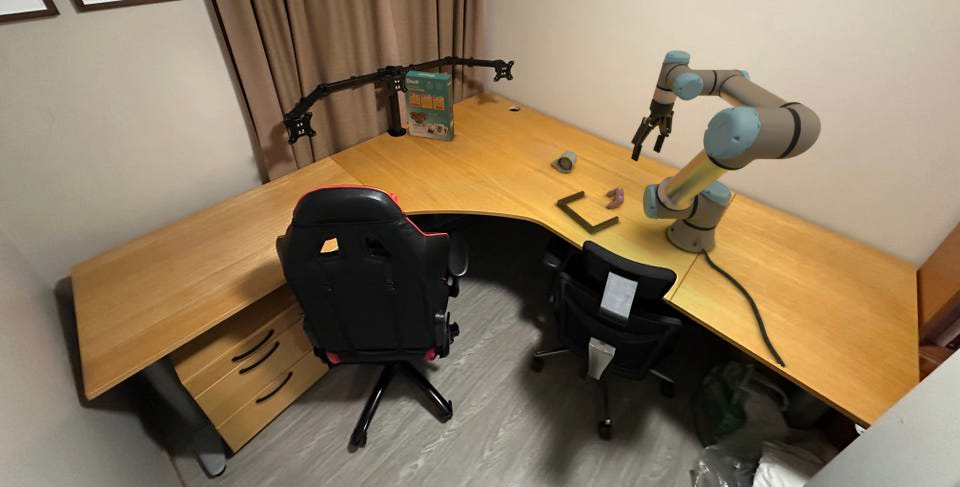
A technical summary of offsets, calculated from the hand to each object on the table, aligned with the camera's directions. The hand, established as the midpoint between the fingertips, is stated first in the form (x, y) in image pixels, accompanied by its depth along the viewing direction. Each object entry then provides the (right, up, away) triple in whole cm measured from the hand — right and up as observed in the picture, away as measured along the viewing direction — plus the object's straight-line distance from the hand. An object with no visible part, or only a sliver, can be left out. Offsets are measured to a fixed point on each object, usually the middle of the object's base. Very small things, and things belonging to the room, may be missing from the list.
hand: (645, 155), depth 151 cm
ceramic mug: (-26, +1, +28) cm, 38 cm away
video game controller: (-9, -17, +9) cm, 21 cm away
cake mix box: (-88, +22, +50) cm, 104 cm away
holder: (-21, -22, +3) cm, 31 cm away
